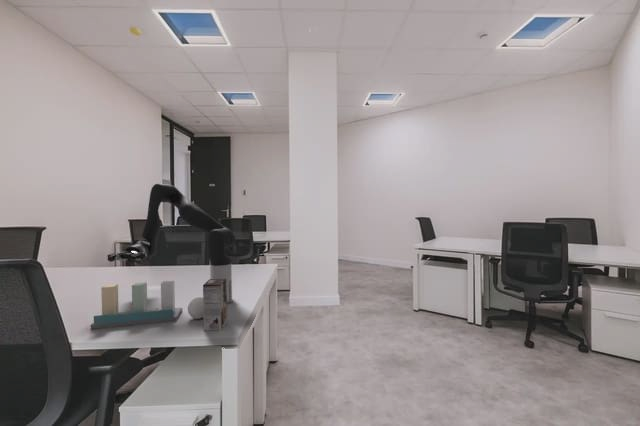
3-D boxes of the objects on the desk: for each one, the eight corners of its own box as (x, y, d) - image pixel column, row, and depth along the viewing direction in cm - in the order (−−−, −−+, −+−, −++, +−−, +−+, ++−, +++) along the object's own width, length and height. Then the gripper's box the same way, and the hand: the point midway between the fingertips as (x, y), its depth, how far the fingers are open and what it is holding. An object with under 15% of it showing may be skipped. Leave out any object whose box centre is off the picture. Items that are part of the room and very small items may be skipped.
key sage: (147, 312, 120) (146, 282, 120) (144, 316, 116) (143, 284, 116) (135, 313, 119) (135, 283, 119) (132, 317, 115) (131, 285, 115)
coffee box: (210, 321, 115) (209, 278, 114) (227, 320, 115) (227, 278, 115) (202, 331, 105) (202, 284, 105) (222, 330, 106) (221, 283, 106)
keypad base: (182, 311, 127) (182, 300, 127) (176, 321, 115) (175, 309, 115) (105, 317, 120) (105, 306, 120) (90, 329, 108) (90, 316, 108)
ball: (184, 322, 114) (184, 301, 114) (191, 315, 122) (191, 295, 122) (206, 321, 115) (206, 300, 114) (212, 314, 123) (212, 294, 122)
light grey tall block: (174, 310, 123) (174, 280, 122) (172, 313, 119) (172, 282, 119) (163, 311, 122) (163, 281, 121) (161, 314, 118) (160, 283, 118)
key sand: (118, 315, 118) (117, 284, 118) (114, 318, 114) (113, 286, 114) (106, 316, 117) (106, 284, 117) (102, 319, 113) (101, 287, 113)
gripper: (117, 245, 140) (101, 250, 124) (151, 244, 144) (140, 249, 128) (117, 262, 140) (101, 268, 125) (151, 260, 144) (140, 266, 128)
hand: (121, 258), depth 126 cm, fingers open, 7 cm apart
